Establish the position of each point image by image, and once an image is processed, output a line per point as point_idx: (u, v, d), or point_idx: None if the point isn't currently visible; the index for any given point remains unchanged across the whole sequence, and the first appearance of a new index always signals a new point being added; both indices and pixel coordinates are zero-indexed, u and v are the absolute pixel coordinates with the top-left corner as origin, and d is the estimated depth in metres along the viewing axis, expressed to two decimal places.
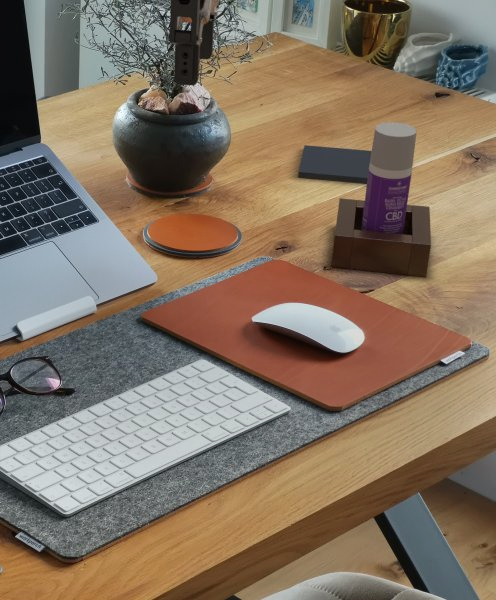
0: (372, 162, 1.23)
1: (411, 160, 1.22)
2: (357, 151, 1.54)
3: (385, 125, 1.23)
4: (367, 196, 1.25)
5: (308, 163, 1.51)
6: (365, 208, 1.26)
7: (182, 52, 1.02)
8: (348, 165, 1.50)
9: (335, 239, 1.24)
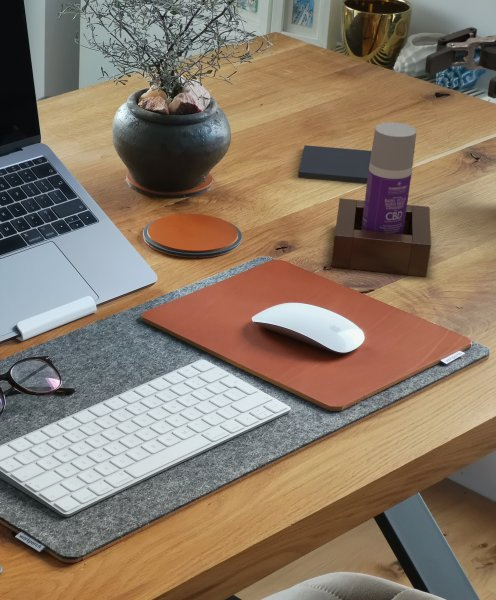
0: (372, 162, 1.23)
1: (411, 160, 1.22)
2: (357, 151, 1.54)
3: (385, 125, 1.23)
4: (367, 196, 1.25)
5: (308, 163, 1.51)
6: (365, 208, 1.26)
7: None
8: (348, 165, 1.50)
9: (335, 239, 1.24)
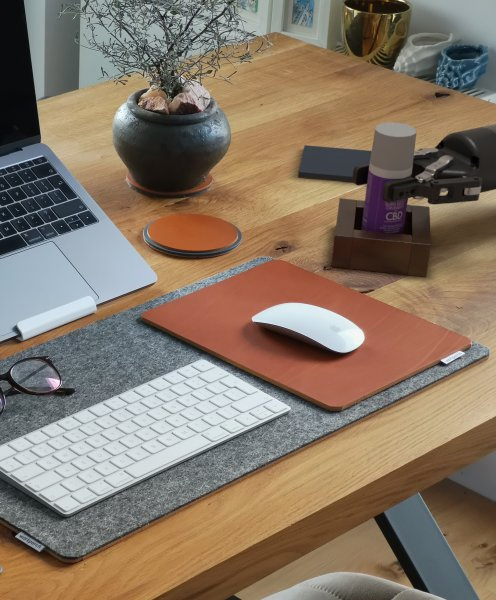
0: (372, 162, 1.23)
1: (411, 160, 1.22)
2: (357, 151, 1.54)
3: (385, 125, 1.23)
4: (367, 196, 1.25)
5: (308, 163, 1.51)
6: (365, 208, 1.26)
7: None
8: (348, 165, 1.50)
9: (335, 239, 1.24)
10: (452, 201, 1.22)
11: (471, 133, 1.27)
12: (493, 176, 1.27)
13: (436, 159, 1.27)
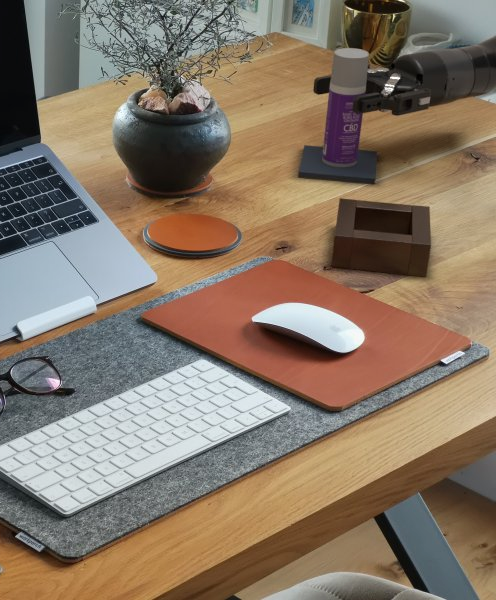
0: (332, 81, 1.45)
1: (364, 79, 1.44)
2: None
3: (343, 50, 1.45)
4: (328, 111, 1.47)
5: (308, 163, 1.51)
6: (326, 122, 1.48)
7: None
8: None
9: (335, 239, 1.24)
10: (411, 111, 1.44)
11: (417, 55, 1.49)
12: (436, 91, 1.48)
13: (387, 77, 1.49)
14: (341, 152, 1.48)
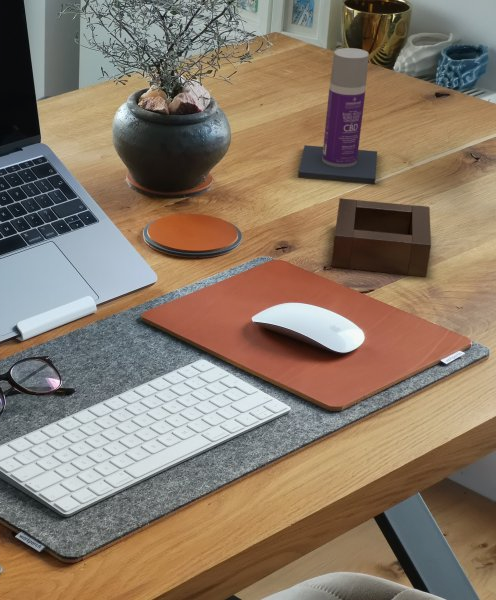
0: (332, 81, 1.45)
1: (364, 79, 1.44)
2: None
3: (342, 50, 1.45)
4: (328, 111, 1.47)
5: (308, 163, 1.51)
6: (326, 122, 1.48)
7: None
8: None
9: (335, 239, 1.24)
10: None
11: None
12: None
13: None
14: (341, 152, 1.48)
